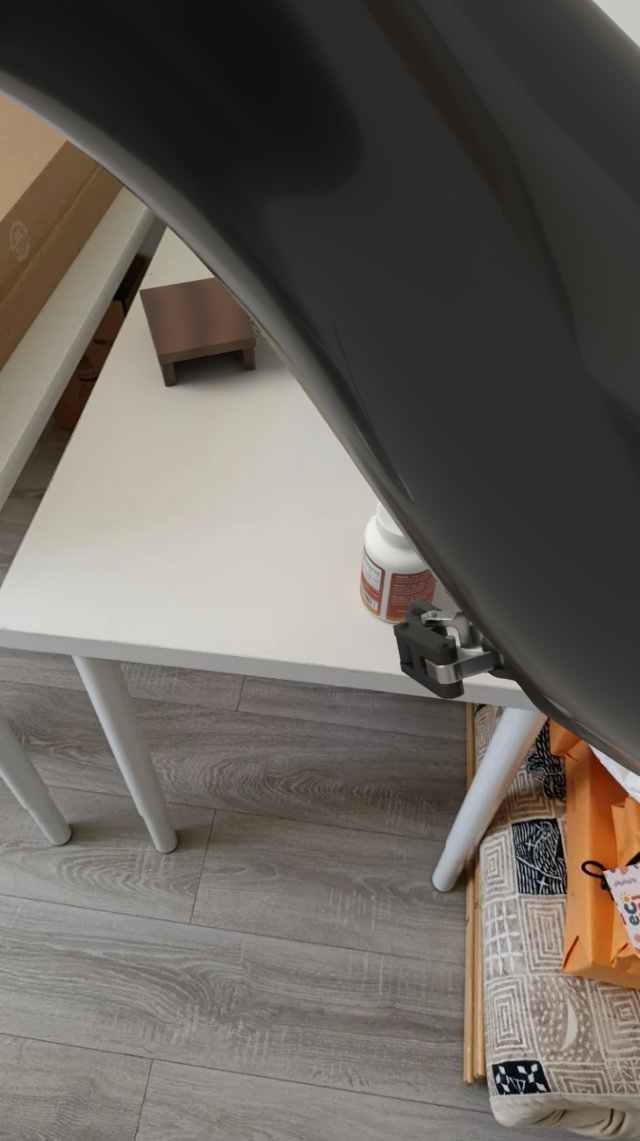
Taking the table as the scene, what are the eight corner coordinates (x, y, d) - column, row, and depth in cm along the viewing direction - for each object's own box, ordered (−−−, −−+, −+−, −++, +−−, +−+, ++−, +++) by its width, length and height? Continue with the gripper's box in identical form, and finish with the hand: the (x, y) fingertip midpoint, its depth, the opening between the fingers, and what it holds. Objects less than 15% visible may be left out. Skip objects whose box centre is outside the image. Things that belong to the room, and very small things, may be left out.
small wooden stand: (164, 390, 80) (157, 355, 76) (146, 325, 86) (138, 289, 82) (258, 372, 81) (256, 336, 78) (234, 309, 87) (231, 274, 84)
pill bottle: (441, 579, 66) (462, 494, 57) (418, 636, 63) (436, 556, 54) (374, 556, 68) (384, 469, 59) (347, 610, 64) (354, 527, 55)
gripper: (794, 542, 32) (579, 512, 47) (472, 628, 29) (358, 567, 45) (809, 712, 33) (596, 629, 49) (503, 809, 30) (382, 688, 46)
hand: (482, 599), depth 47 cm, fingers open, 8 cm apart
